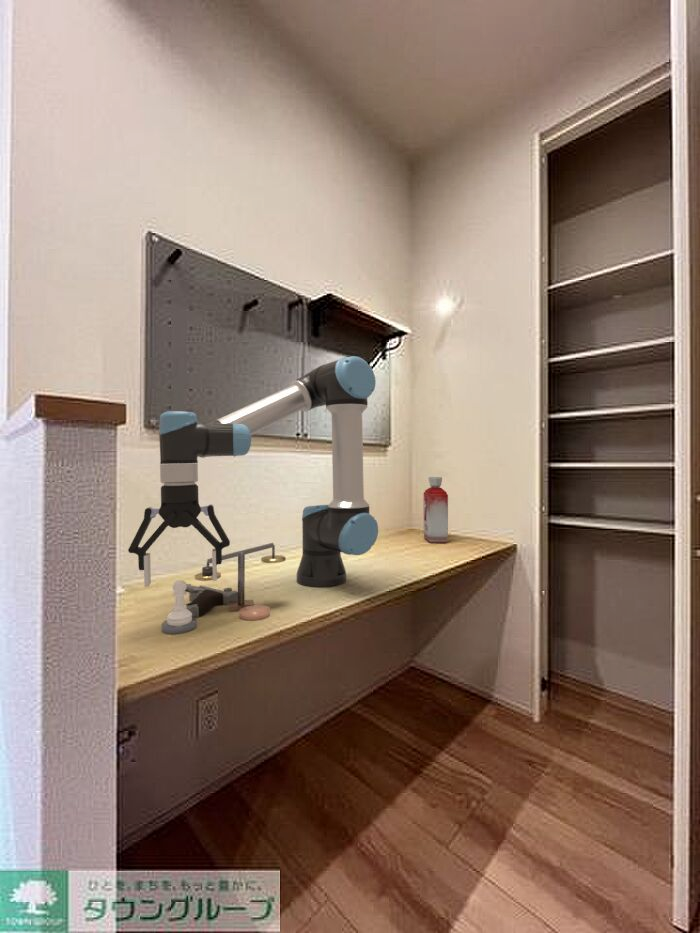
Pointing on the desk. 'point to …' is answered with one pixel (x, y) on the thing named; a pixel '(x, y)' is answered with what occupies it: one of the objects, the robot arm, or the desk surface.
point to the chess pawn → (179, 606)
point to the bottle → (435, 512)
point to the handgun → (208, 599)
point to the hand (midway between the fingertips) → (181, 582)
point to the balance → (240, 573)
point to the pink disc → (254, 612)
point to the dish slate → (179, 627)
